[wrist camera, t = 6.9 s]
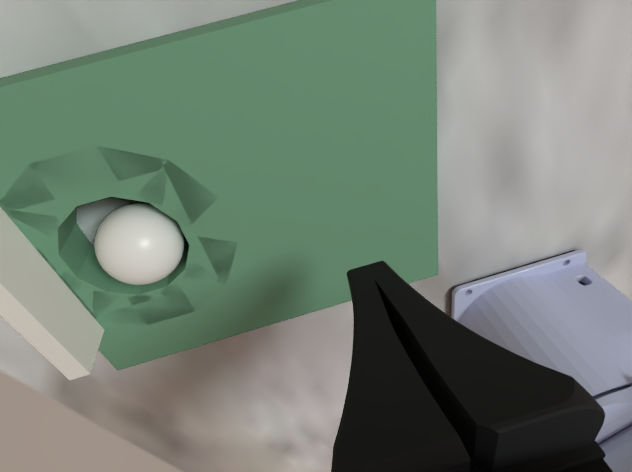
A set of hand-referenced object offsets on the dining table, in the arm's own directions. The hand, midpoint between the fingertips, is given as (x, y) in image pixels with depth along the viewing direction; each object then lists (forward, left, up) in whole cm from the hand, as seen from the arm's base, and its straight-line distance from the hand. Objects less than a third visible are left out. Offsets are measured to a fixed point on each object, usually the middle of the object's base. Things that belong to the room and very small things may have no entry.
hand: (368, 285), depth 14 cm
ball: (+9, -1, -5) cm, 10 cm away
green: (+4, -1, -7) cm, 8 cm away
